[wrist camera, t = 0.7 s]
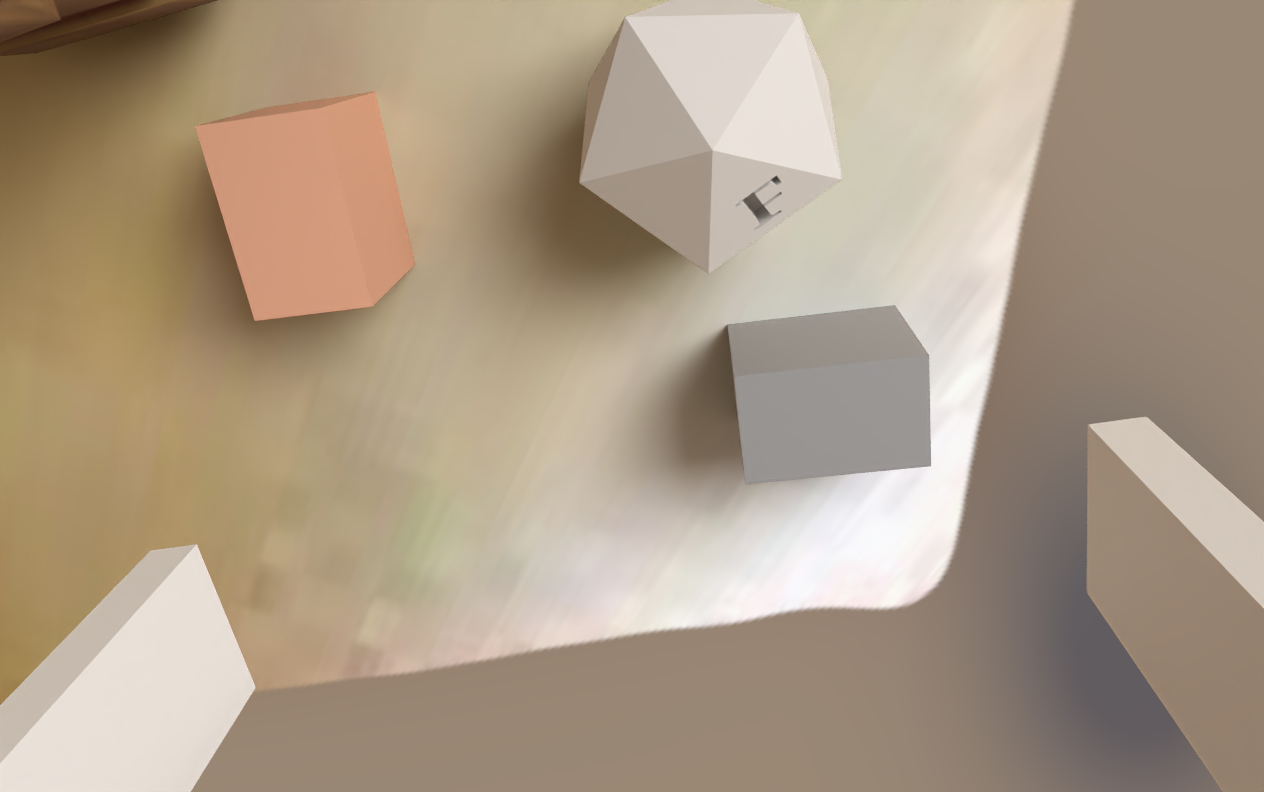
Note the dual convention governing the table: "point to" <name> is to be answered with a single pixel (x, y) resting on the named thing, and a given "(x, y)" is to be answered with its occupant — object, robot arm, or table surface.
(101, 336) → the table surface
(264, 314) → the salmon pink block
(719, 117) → the die
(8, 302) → the table surface
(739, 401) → the gray rectangular block
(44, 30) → the wooden toy train
